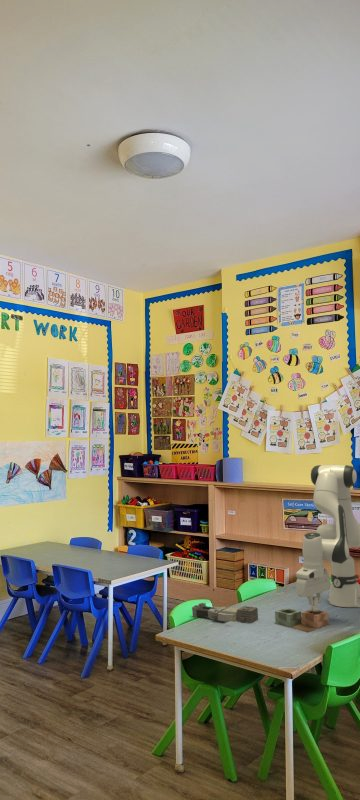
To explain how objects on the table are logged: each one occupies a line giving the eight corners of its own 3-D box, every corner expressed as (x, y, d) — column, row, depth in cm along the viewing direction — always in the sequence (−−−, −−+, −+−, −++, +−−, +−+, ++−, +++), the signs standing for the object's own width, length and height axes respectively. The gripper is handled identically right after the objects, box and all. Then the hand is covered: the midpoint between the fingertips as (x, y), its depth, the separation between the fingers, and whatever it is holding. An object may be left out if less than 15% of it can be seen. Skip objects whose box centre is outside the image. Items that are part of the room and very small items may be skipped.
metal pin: (314, 619, 249) (313, 595, 250) (320, 620, 247) (319, 596, 248) (310, 620, 247) (309, 596, 248) (316, 622, 245) (315, 598, 246)
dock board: (296, 619, 260) (295, 604, 260) (330, 627, 246) (329, 612, 247) (273, 626, 249) (273, 611, 250) (308, 636, 236) (307, 619, 236)
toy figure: (203, 599, 274) (259, 606, 257) (204, 614, 273) (260, 621, 256) (190, 605, 264) (248, 612, 248) (191, 620, 264) (248, 628, 247)
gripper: (321, 566, 258) (322, 598, 257) (293, 573, 244) (294, 606, 243) (333, 568, 253) (334, 600, 252) (305, 575, 240) (306, 609, 238)
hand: (314, 603), depth 247 cm, fingers closed on metal pin, 3 cm apart
